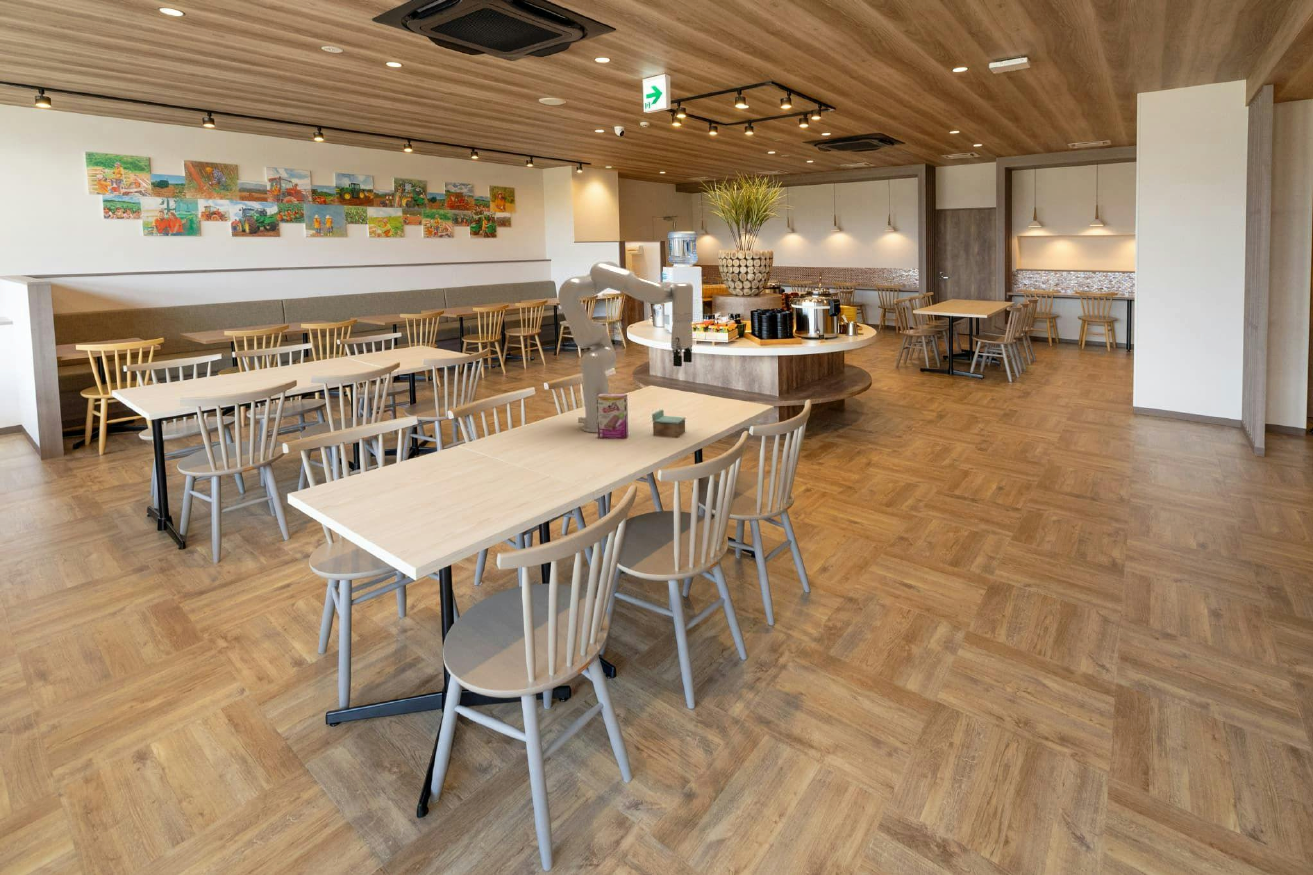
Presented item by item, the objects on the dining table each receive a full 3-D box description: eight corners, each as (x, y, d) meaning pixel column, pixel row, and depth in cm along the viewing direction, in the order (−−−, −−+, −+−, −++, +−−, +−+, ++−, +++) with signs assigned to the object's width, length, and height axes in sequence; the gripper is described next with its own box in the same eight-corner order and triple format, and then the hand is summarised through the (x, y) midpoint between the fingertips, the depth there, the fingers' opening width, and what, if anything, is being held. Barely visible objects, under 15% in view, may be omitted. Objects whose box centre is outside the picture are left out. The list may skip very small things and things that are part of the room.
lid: (652, 421, 280) (652, 414, 279) (660, 417, 287) (660, 409, 286) (677, 423, 275) (677, 416, 275) (685, 419, 283) (685, 411, 282)
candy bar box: (598, 438, 278) (596, 396, 274) (600, 435, 283) (598, 393, 279) (627, 438, 277) (625, 396, 273) (628, 435, 282) (627, 393, 278)
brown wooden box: (653, 435, 281) (652, 422, 280) (661, 430, 288) (661, 417, 287) (677, 437, 277) (677, 424, 276) (685, 432, 284) (685, 419, 283)
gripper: (682, 315, 276) (682, 360, 281) (663, 319, 261) (664, 367, 265) (700, 315, 273) (700, 361, 278) (683, 320, 258) (683, 368, 262)
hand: (682, 364), depth 272 cm, fingers open, 9 cm apart
